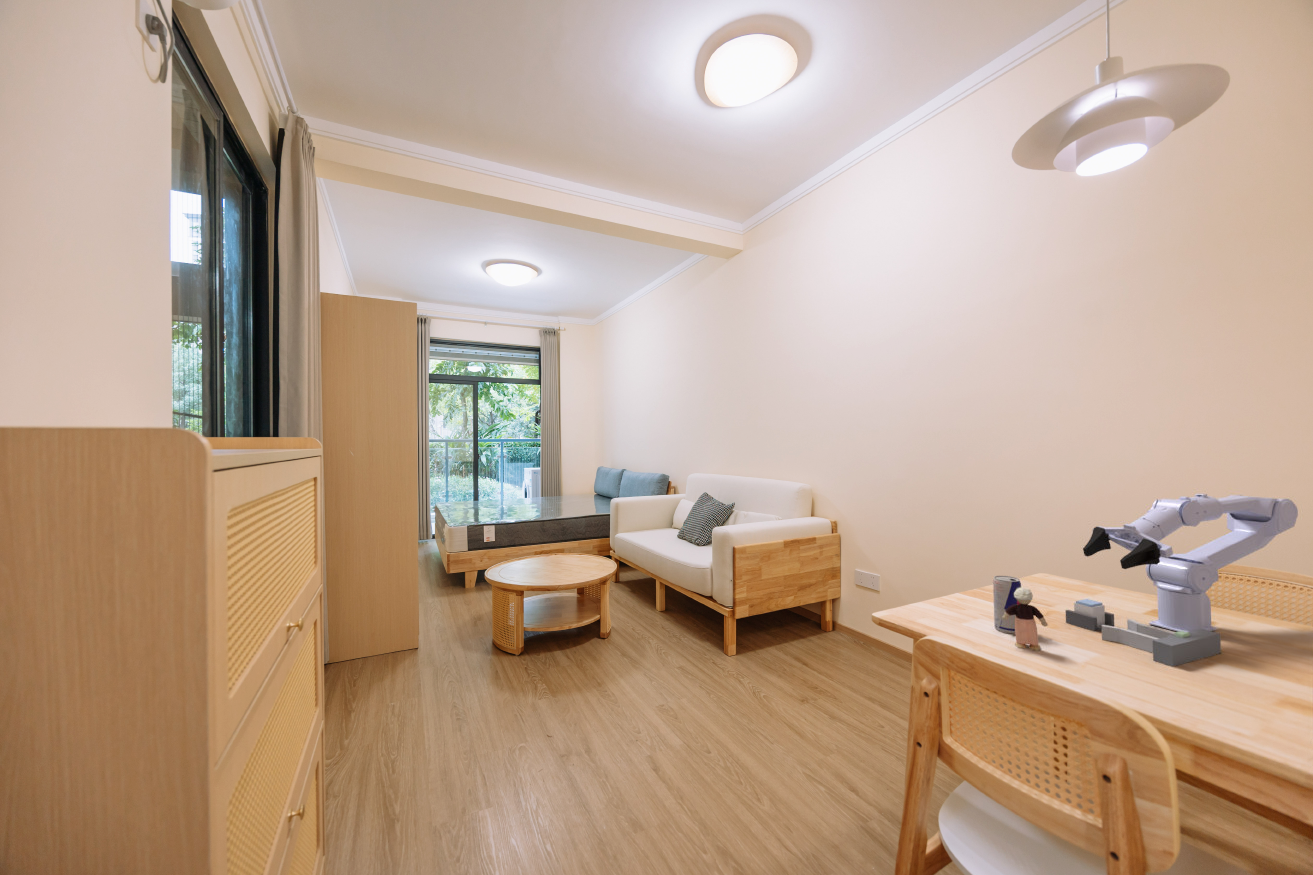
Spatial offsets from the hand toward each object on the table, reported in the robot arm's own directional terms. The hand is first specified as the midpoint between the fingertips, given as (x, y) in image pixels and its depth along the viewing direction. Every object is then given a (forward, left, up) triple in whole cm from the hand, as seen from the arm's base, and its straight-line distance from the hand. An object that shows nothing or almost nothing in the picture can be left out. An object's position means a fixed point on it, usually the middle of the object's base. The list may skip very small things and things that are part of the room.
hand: (1103, 558), depth 113 cm
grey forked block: (-2, +7, -17) cm, 19 cm away
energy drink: (+16, -11, -18) cm, 26 cm away
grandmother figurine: (+22, -3, -18) cm, 28 cm away
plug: (-4, -6, -17) cm, 19 cm away
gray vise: (-7, -6, -17) cm, 20 cm away
